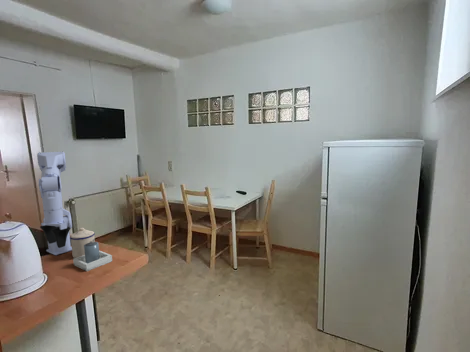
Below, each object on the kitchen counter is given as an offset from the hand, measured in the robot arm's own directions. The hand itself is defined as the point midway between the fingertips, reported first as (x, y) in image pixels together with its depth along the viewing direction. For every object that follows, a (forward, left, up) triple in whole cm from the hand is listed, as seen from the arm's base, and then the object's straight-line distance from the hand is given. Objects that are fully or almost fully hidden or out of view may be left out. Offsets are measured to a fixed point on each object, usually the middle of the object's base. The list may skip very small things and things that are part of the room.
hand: (56, 244), depth 98 cm
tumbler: (+5, +10, -9) cm, 14 cm away
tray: (+5, +10, -10) cm, 15 cm away
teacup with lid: (-8, +14, -10) cm, 19 cm away
